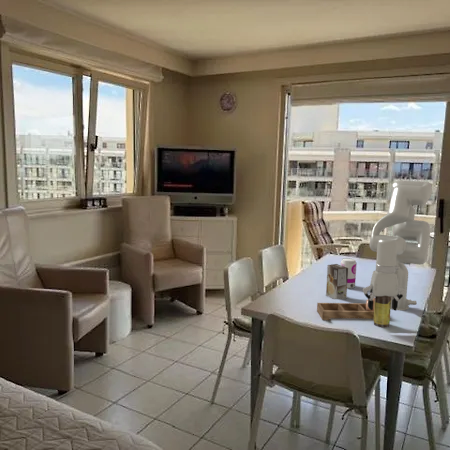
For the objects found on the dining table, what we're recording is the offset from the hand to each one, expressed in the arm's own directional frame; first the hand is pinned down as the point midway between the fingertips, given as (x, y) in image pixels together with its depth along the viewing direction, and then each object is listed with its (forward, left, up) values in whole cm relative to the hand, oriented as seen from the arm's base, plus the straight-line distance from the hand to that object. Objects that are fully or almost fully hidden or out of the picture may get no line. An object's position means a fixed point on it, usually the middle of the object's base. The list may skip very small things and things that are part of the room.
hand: (382, 309), depth 178 cm
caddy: (+9, -12, -8) cm, 17 cm away
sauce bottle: (0, 0, -8) cm, 8 cm away
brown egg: (0, -12, -7) cm, 14 cm away
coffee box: (+9, -38, -8) cm, 40 cm away
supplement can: (-2, -57, -8) cm, 58 cm away
